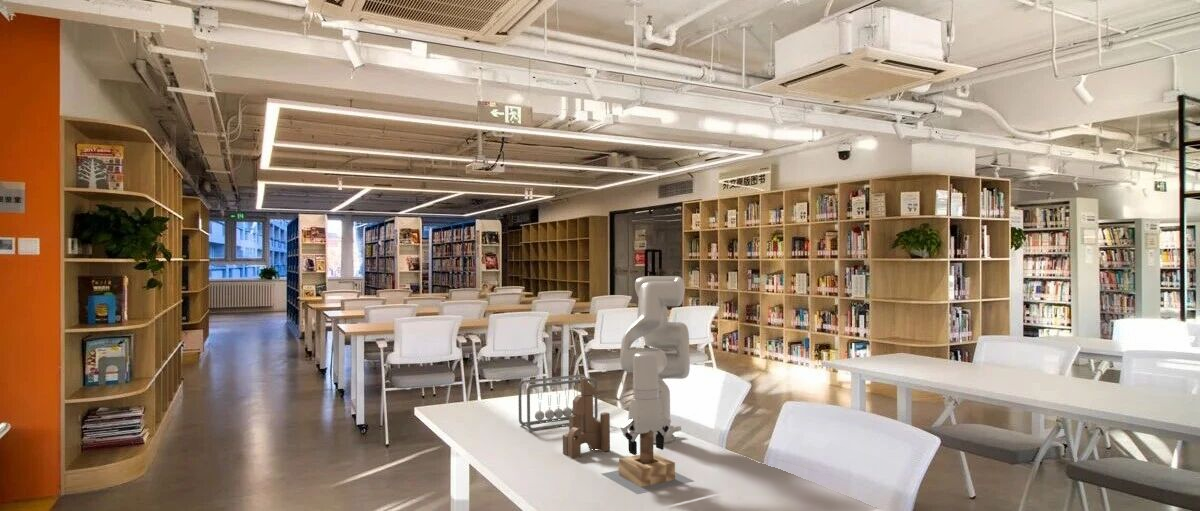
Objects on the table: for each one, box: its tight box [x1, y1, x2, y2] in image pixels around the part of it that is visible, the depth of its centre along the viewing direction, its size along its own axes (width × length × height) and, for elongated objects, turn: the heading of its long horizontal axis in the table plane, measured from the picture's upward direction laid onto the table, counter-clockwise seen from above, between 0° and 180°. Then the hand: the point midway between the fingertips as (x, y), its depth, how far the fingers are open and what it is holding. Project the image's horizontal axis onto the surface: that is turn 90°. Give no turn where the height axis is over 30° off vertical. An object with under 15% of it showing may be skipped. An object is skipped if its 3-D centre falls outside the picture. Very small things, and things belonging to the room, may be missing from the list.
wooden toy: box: [562, 377, 611, 458], centre depth 226 cm, size 16×7×25 cm, turn 120°
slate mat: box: [601, 469, 694, 495], centre depth 199 cm, size 20×20×1 cm
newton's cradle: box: [517, 374, 599, 431], centre depth 265 cm, size 30×10×18 cm, turn 117°
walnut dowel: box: [639, 430, 654, 465], centre depth 199 cm, size 4×4×16 cm
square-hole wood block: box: [618, 452, 676, 487], centre depth 199 cm, size 12×12×5 cm
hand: (646, 451), depth 199 cm, fingers open, 9 cm apart
